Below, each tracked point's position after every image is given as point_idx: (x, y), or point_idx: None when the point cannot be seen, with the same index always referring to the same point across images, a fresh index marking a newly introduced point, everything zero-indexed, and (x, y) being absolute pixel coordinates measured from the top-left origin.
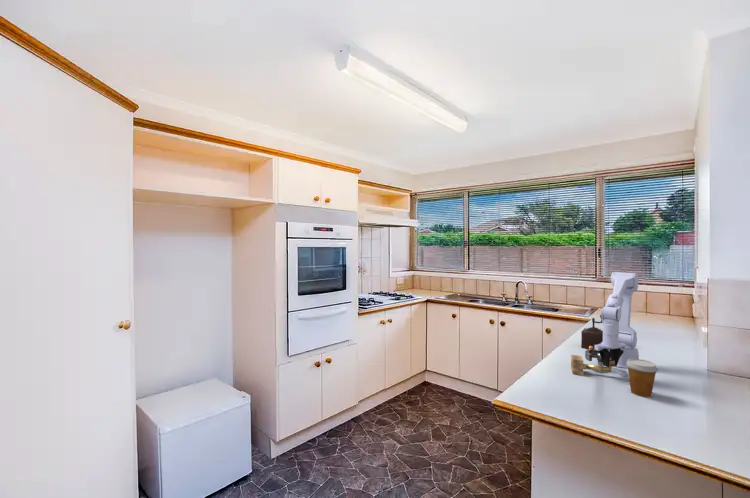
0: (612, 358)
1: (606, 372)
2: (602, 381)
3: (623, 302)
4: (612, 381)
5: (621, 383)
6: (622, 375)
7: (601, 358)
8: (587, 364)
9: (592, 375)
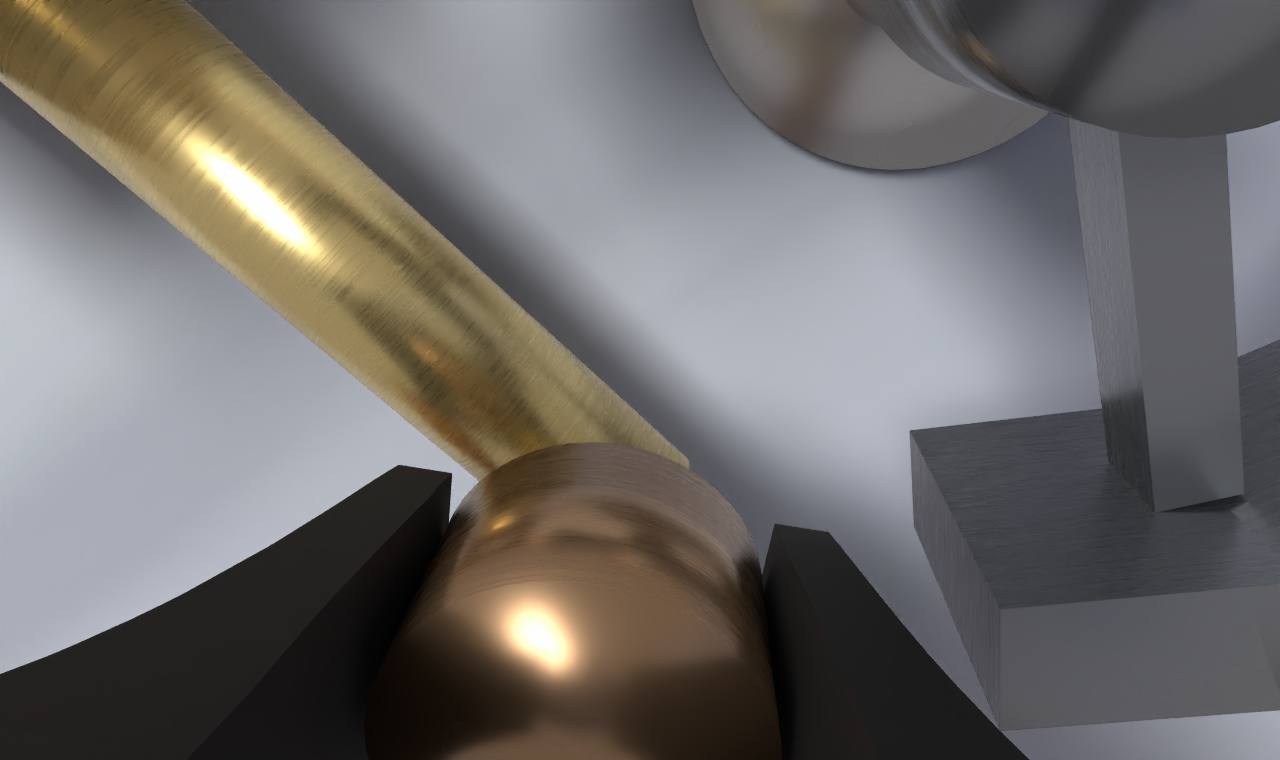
0: (819, 741)
1: (857, 161)
2: (190, 518)
3: None
4: None
5: None
6: None
7: (913, 30)
8: (8, 2)
9: None
